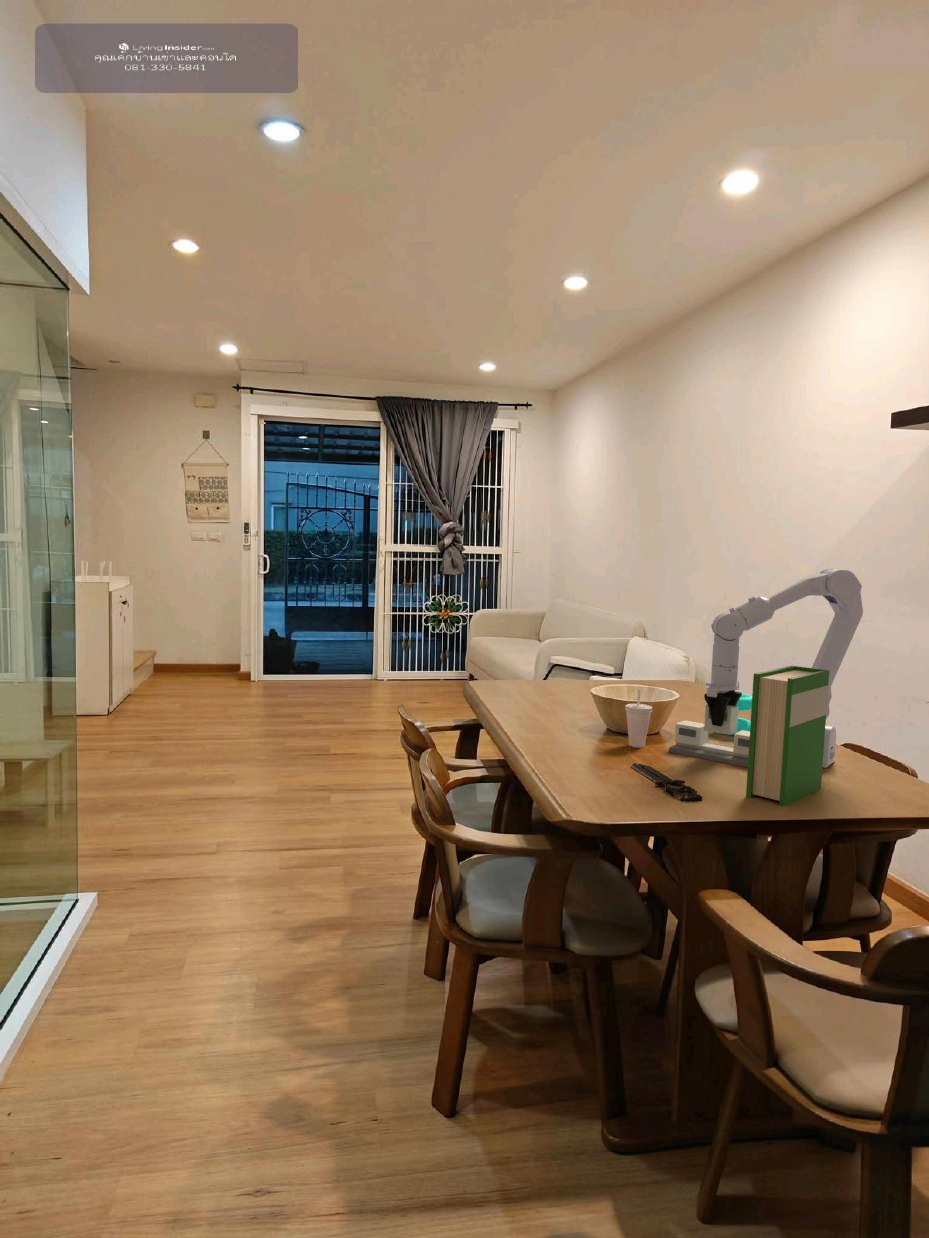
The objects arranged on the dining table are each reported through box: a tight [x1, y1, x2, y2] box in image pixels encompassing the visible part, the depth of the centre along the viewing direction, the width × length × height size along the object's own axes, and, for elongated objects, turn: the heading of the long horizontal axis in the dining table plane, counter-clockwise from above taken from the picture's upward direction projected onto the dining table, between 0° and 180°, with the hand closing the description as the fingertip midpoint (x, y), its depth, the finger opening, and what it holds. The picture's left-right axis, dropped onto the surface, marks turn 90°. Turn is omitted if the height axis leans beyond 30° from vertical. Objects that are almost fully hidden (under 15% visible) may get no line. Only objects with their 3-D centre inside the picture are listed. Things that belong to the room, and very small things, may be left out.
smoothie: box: [624, 687, 653, 748], centre depth 182 cm, size 6×6×14 cm
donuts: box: [730, 692, 752, 736], centre depth 200 cm, size 10×10×10 cm
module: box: [703, 703, 739, 736], centre depth 176 cm, size 6×5×6 cm
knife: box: [630, 762, 703, 803], centre depth 155 cm, size 25×6×1 cm, turn 8°
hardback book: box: [745, 665, 829, 807], centre depth 149 cm, size 18×7×24 cm, turn 134°
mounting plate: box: [668, 719, 750, 768], centre depth 176 cm, size 20×11×6 cm, turn 50°
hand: (721, 723), depth 176 cm, fingers closed on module, 5 cm apart
